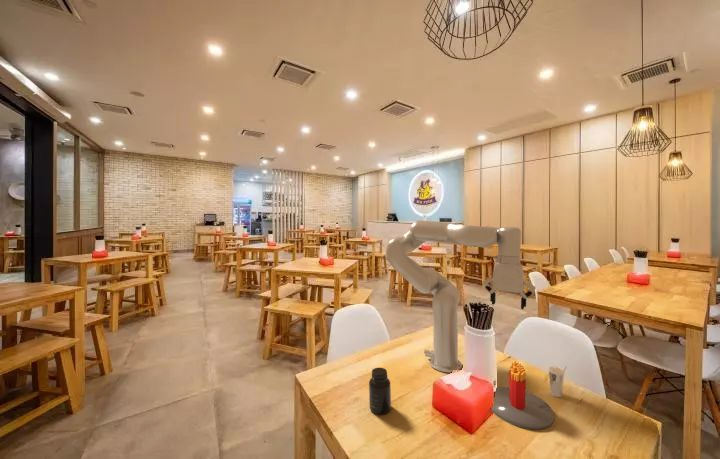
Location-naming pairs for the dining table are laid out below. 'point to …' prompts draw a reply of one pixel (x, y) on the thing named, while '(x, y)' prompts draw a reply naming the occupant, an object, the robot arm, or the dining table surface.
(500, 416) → the plate
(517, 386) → the french fries
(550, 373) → the milkshake
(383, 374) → the supplement bottle
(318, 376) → the dining table surface
